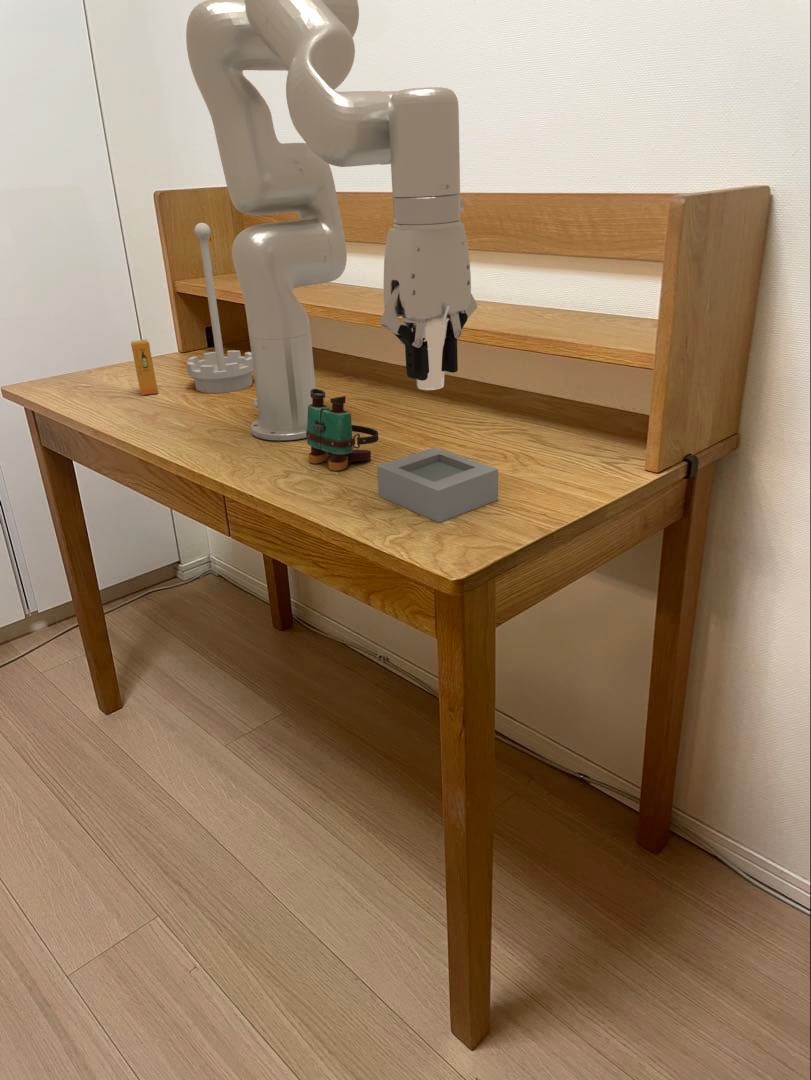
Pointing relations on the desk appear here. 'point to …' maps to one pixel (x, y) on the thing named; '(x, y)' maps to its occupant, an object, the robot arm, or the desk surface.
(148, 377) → the supplement box
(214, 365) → the flag stand
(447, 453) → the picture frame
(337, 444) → the binoculars
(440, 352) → the milkshake
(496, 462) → the desk surface
